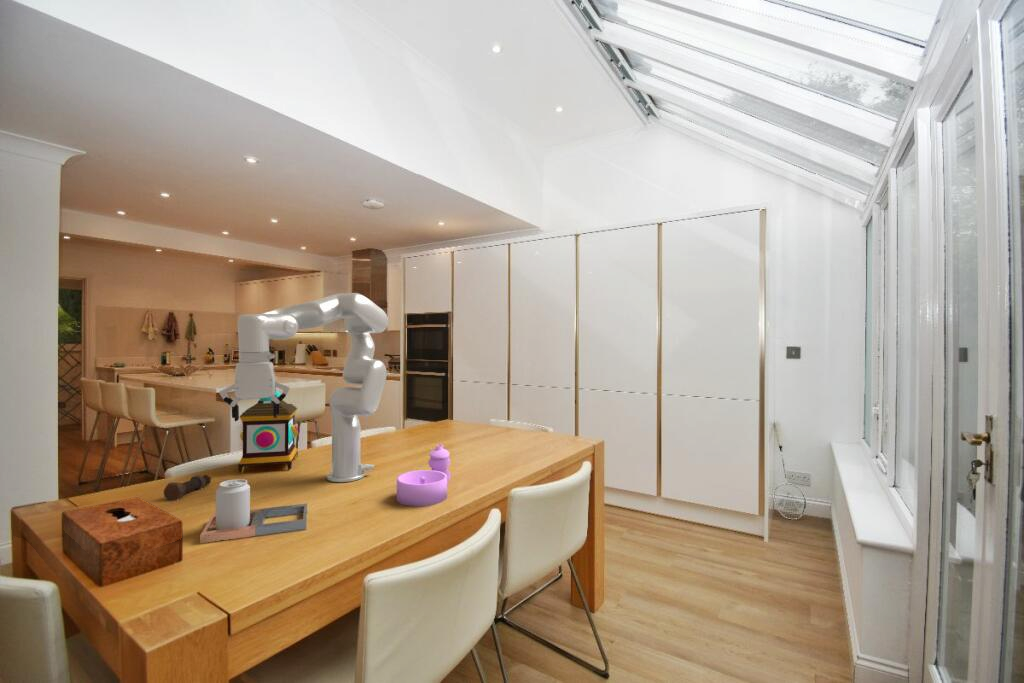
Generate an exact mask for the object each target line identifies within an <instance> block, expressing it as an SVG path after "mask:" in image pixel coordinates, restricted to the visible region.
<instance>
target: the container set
mask: <svg viewBox="0 0 1024 683" xmlns="http://www.w3.org/2000/svg"><path fill="white" fill-rule="evenodd" d="M449 457H450V452H449V450H447V449H445V448H444V445H443V444H437V445H436V448H435V449H432V450H431V451H430V452H429V459H428V466H429V468H431V469H429V470H428V469H424V470H423V469H422V470H421V469H420V470H412V471H411V470H410V471H407V472H404V473H401V474H399V475H398V476H397V477H396V501H397V502H398V503H399V502H400V503H399V504H401V505H403V504H404V506H408V505H410V506H409V507H428V505H429V506H434V505H437V503H438V504H440V503H442V502H444V501H446V499H447V498H448V483H449V482H450V481H451V473H450V470H449V469H448V468H449V466H450V464H451V459H450V458H449ZM433 504H434V505H433ZM426 505H427V506H426Z"/></svg>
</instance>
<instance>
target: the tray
mask: <svg viewBox="0 0 1024 683" xmlns="http://www.w3.org/2000/svg"><path fill="white" fill-rule="evenodd" d="M293 514H294V515H300V514H303V516H302V518H300V519H294V520H293V519H292V520H284V521H277V522H271V523H269V522H268V523H264V522H266V519H267V518H266V517H269V518H274V517H273V516H277V517H283V516H282V515H285V516H292V515H293ZM265 518H266V519H265ZM250 519H253V520H251V522H250V525H248V526H245V527H238V528H230V529H222V530H216V529H215V530H213V527H214V526H213V525H216V513H213V514H212V515H210V518H209V520H208V521H207V523H206V525H205V527H204V528H203V530H202V532H201V533H200V535H199V538H200V540H199V541H200V542H199V543H202V544H209V543H215V541H216V542H221V541H220V540H224V541H229V539H231V540H236V539H237V538H238V539H244V538H245V539H246V538H251V537H252V536H253V537H259V536H266V535H274V534H281V533H283V534H284V533H288V532H296V531H302V530H303V531H304V530H307V519H308V503H299V504H290V505H283V506H282V505H281V506H280V505H279V506H274V507H272V506H271V507H266V508H265V507H264V508H256V509H250ZM238 539H237V540H238ZM208 542H209V543H208Z"/></svg>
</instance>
